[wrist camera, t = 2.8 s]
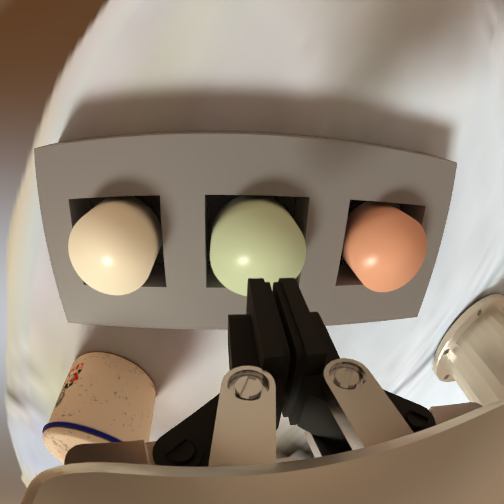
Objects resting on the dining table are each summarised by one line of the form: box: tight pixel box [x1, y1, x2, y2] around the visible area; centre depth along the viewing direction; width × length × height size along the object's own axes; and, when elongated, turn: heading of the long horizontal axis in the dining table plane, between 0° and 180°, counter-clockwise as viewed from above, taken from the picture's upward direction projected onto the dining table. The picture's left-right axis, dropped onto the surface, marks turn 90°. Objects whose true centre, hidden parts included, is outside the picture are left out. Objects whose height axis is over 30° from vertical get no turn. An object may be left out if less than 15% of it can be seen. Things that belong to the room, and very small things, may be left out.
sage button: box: [210, 195, 306, 296], centre depth 17 cm, size 5×5×3 cm
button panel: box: [34, 131, 457, 329], centre depth 18 cm, size 26×12×3 cm, turn 87°
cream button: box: [68, 196, 162, 295], centre depth 16 cm, size 5×5×3 cm
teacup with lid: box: [43, 352, 156, 463], centre depth 20 cm, size 12×9×12 cm
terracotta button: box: [341, 201, 427, 292], centre depth 18 cm, size 5×5×3 cm
